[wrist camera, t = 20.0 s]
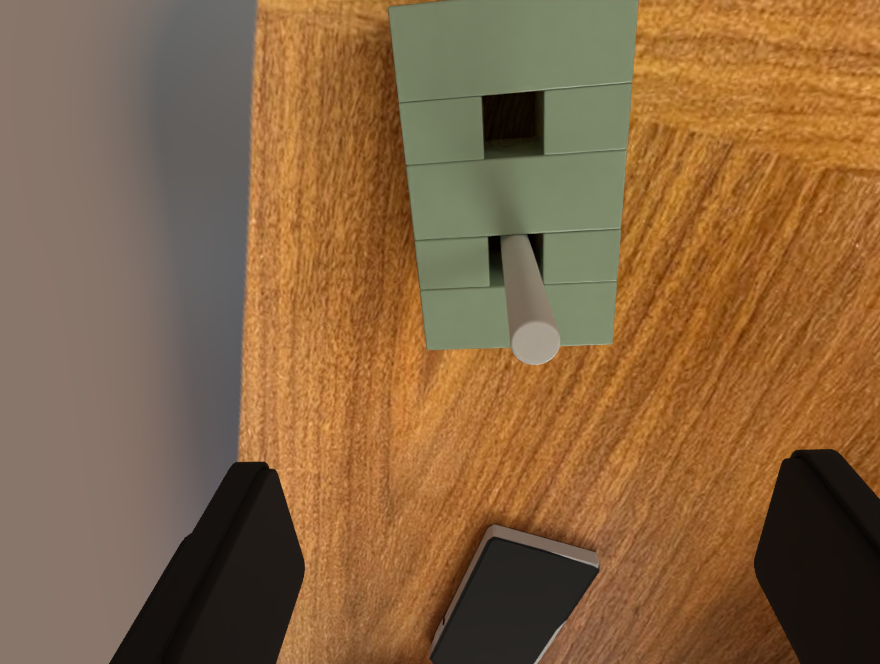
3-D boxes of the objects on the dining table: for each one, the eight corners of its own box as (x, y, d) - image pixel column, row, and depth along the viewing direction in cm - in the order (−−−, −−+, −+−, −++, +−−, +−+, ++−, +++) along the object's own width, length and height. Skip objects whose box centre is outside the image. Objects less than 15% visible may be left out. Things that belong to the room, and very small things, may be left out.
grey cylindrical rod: (499, 240, 26) (511, 366, 13) (498, 215, 26) (509, 321, 13) (524, 238, 26) (560, 364, 13) (523, 213, 25) (560, 318, 13)
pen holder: (595, 300, 27) (612, 345, 23) (435, 307, 28) (426, 350, 24) (612, -10, 21) (640, -22, 17) (406, 12, 22) (387, 6, 18)
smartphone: (605, 567, 35) (523, 687, 42) (601, 551, 36) (522, 671, 43) (488, 534, 34) (425, 662, 41) (488, 520, 35) (427, 646, 43)
